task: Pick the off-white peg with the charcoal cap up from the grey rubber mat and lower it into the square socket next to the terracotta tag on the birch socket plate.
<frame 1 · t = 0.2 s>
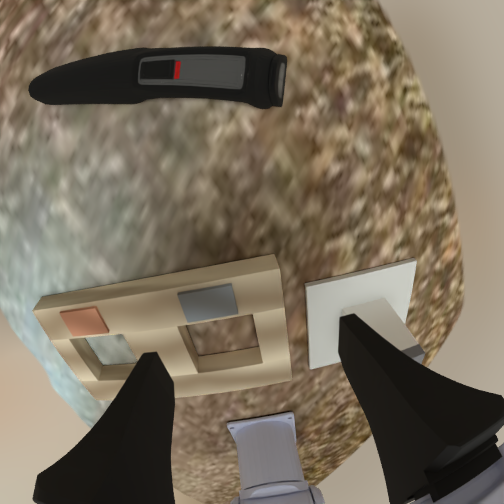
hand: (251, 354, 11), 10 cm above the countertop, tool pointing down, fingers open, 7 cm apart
socket plate: (164, 338, 23), on the countertop
peg: (362, 320, 24), resting on mat
electric trimmer: (161, 79, 15), on the countertop
mat: (360, 316, 24), on the countertop
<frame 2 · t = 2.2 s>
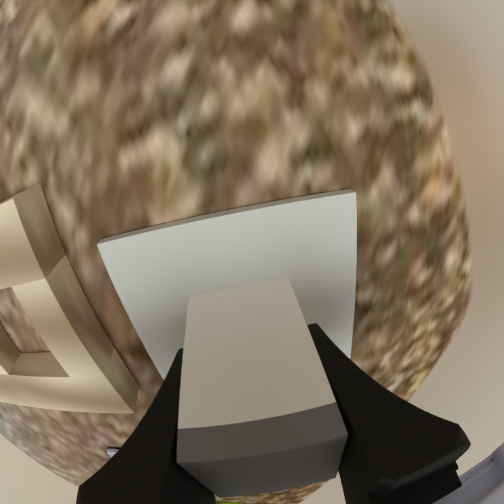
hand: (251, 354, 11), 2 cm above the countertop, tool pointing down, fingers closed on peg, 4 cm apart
peg: (246, 323, 12), resting on mat, touching gripper
mat: (245, 316, 13), on the countertop
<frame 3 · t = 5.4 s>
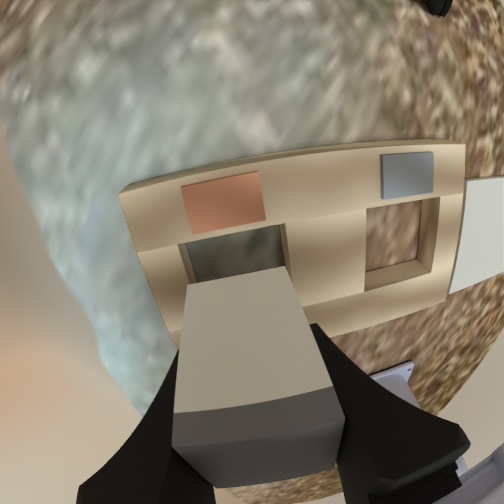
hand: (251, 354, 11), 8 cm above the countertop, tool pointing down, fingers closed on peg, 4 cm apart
socket plate: (318, 245, 18), on the countertop
peg: (244, 313, 13), point 5 cm above the countertop, touching gripper
mat: (490, 230, 19), on the countertop
when the fingers open (3 cm above the countertop, at t = 6.9 s): peg drops 1 cm, resting in socket plate.
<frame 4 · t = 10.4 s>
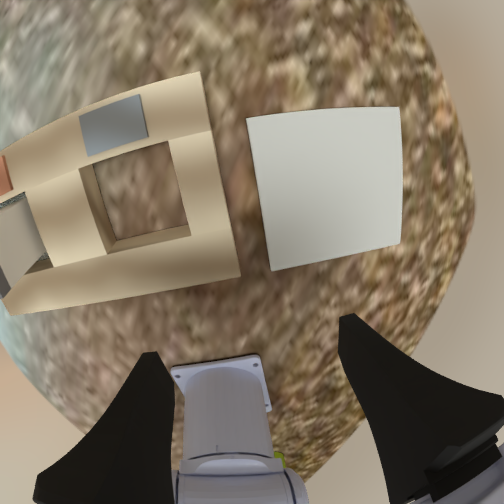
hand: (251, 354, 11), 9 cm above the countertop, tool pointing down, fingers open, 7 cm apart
socket plate: (76, 211, 17), on the countertop
peg: (26, 224, 16), resting in socket plate
mat: (335, 185, 18), on the countertop
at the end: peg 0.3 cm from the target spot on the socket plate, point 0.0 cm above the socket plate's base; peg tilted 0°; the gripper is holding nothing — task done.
